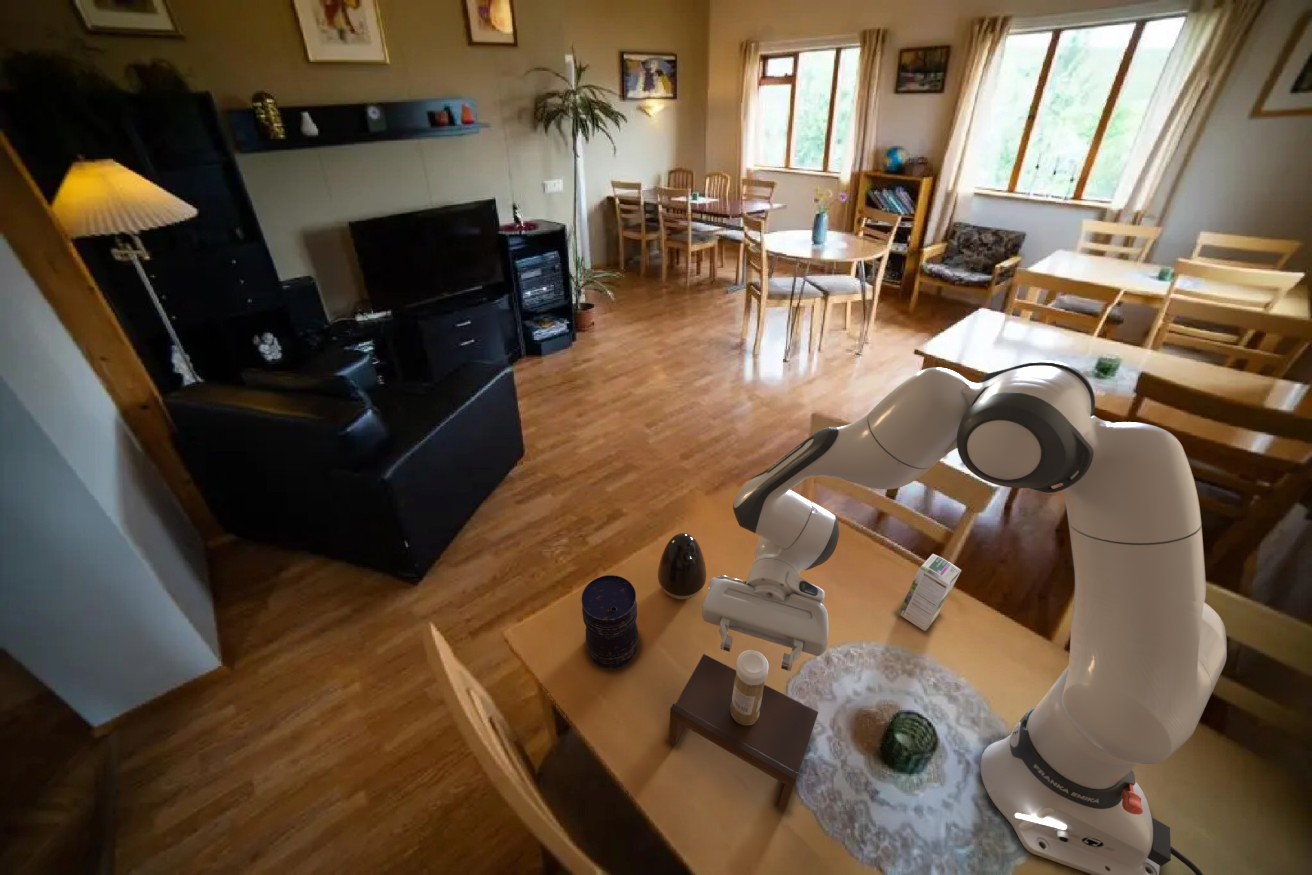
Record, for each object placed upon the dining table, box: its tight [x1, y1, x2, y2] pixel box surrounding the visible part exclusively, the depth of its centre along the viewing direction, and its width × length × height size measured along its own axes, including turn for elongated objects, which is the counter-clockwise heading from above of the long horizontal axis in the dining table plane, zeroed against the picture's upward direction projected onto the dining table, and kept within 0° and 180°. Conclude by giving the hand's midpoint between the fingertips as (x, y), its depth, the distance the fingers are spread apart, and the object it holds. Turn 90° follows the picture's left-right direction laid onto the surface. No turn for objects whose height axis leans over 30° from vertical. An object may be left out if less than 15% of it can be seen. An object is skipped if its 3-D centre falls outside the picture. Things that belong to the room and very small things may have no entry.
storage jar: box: [581, 574, 639, 670], centre depth 98 cm, size 10×10×15 cm
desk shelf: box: [669, 653, 819, 812], centre depth 85 cm, size 20×12×11 cm, turn 60°
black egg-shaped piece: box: [657, 532, 707, 600], centre depth 110 cm, size 10×10×15 cm
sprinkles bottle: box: [730, 649, 770, 726], centre depth 79 cm, size 5×5×14 cm
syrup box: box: [898, 553, 962, 632], centre depth 104 cm, size 6×6×14 cm
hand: (755, 658), depth 81 cm, fingers open, 8 cm apart
